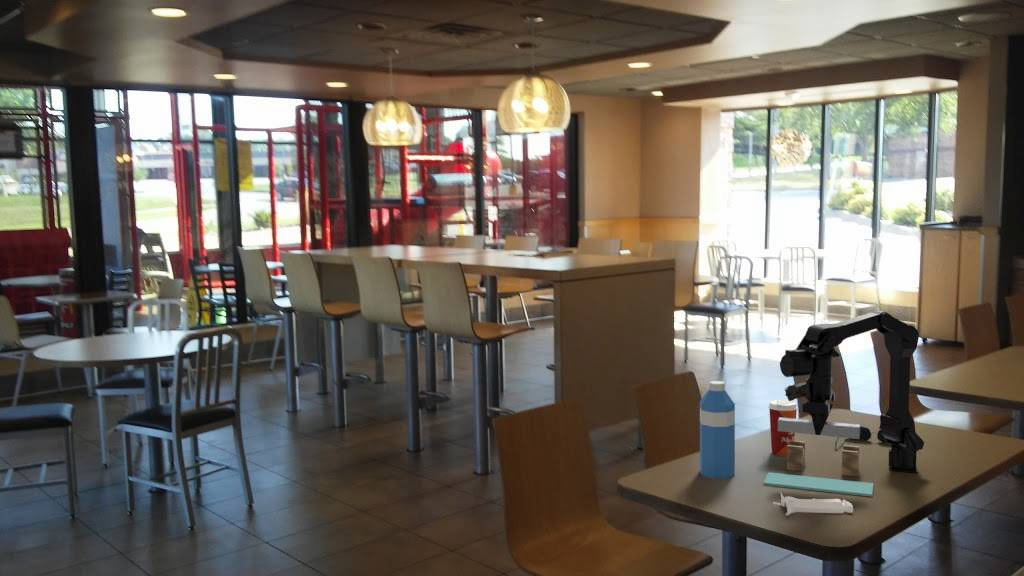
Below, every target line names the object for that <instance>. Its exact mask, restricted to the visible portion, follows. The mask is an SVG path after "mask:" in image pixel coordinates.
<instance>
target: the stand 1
mask: <svg viewBox="0 0 1024 576" xmlns="http://www.w3.org/2000/svg"><path fill="white" fill-rule="evenodd" d="M805 464H806V442H805V440H804V441H800V440H795V441H792V440H790V441H789V445H787V456H786V469H787V470H791V471H800V472H803V470H804V467H805Z"/></svg>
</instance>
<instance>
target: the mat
mask: <svg viewBox="0 0 1024 576" xmlns="http://www.w3.org/2000/svg"><path fill="white" fill-rule="evenodd" d="M763 485H764V486H770V487H771V486H772V487H780V488H789V489H797V490H798V489H799V490H806V491H807V490H808V491H815V492H825V493H835V494H843V495H852V496H863V497H873V492H874V483H873V482H865V481H856V480H846V479H835V478H826V477H817V476H807V475H795V474H787V473H778V472H768V473H767V475H766V477H765V479H764V481H763Z"/></svg>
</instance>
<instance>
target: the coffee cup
mask: <svg viewBox="0 0 1024 576" xmlns="http://www.w3.org/2000/svg"><path fill="white" fill-rule="evenodd" d="M767 408H768V409H769V422H770V423H769V425H770V426H769V427H770V428H769V429H770V444H771V446H770V447H771V453H772V455H774V456H777V457H787V445H789V441H790V440H792V441H796V440H795V438H796V433H793V432H783V431H778V419H779V418H780V417H782V418H793V419H797V412H798V411H797V410H798V409H799V407H798V406H797V403H796V402H795V401H794V400H792V401H788V399H774V400H771V401H769V405H767Z"/></svg>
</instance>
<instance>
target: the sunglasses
mask: <svg viewBox="0 0 1024 576" xmlns="http://www.w3.org/2000/svg"><path fill="white" fill-rule="evenodd" d="M873 434H875V435H876V439H877V440H878V441H879V442H881V443H885V444H887V443H886V441H885V438H884V436H883V435H882V433H881V429H879V430H878V431H877V432H875V431H874V432H871V429H870V428H868V427H866V426H862V425H860V438H859V439H856V440H858V441H869V440H870V439H871V438H872V436H873ZM836 438H837V439H835V443H834V444H835V446H834V450H835V451H836V450H837V443H838V441H839V439H840V437H836ZM849 439H850V440H854V439H853V438H849Z"/></svg>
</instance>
